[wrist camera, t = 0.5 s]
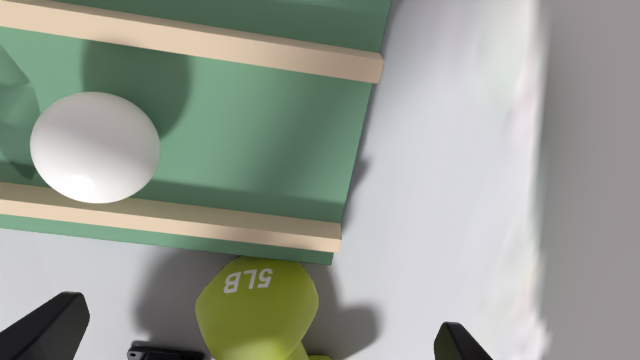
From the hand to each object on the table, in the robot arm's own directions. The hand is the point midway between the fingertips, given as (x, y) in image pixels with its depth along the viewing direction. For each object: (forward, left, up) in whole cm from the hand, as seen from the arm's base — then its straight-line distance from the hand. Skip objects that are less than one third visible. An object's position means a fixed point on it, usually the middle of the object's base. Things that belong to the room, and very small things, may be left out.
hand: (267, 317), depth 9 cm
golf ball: (-1, +9, -9) cm, 12 cm away
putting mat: (-1, +11, -13) cm, 17 cm away
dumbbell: (-17, -1, -13) cm, 22 cm away
